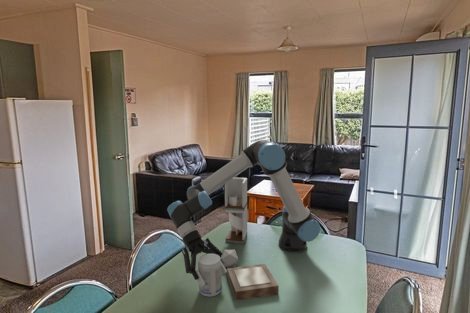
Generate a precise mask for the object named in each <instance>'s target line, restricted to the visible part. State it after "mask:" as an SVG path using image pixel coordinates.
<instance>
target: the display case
mask: <svg viewBox="0 0 470 313" xmlns="http://www.w3.org/2000/svg"><path fill="white" fill-rule="evenodd" d="M224 213H228V222H229V224H230V225H231V228H230V229H231V230H229V231H228V233H227V235H226V237H225V243H232V244H233V243H235V244H245V242H246V239H247V237H248V178H247V177H234V178H232V179H231V180H230V181H228V182H227V183H225V184H224Z"/></svg>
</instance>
